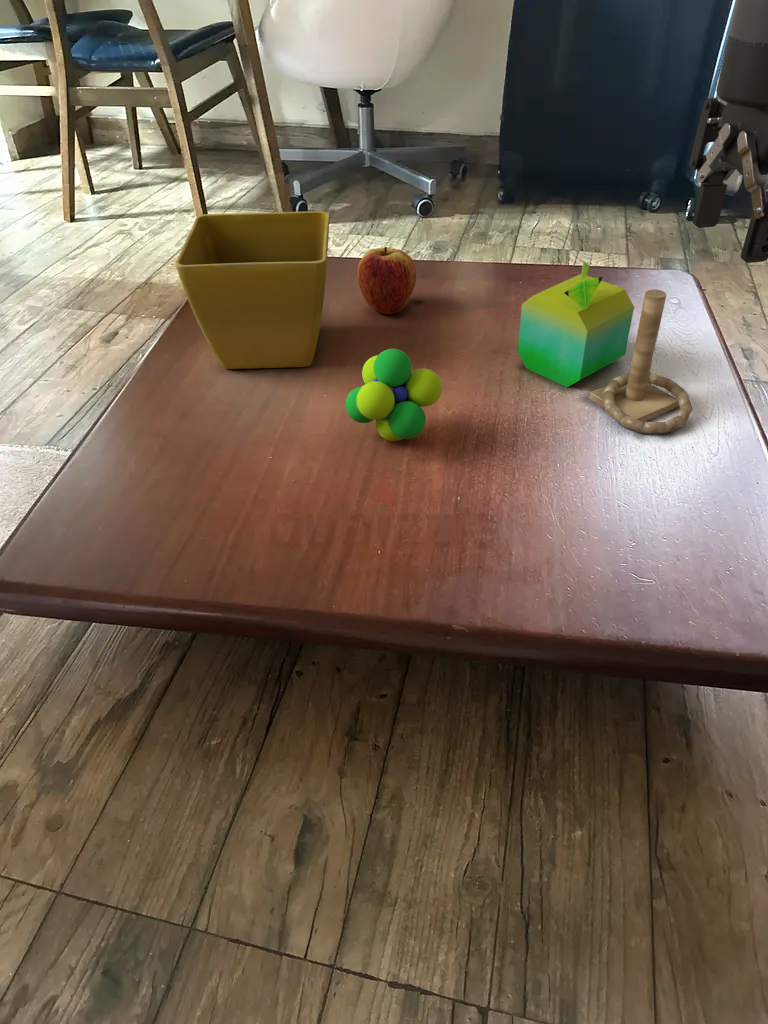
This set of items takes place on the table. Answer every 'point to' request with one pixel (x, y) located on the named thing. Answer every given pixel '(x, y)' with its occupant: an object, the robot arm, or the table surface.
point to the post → (643, 368)
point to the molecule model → (394, 395)
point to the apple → (386, 279)
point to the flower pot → (257, 285)
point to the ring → (641, 425)
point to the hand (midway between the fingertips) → (727, 242)
